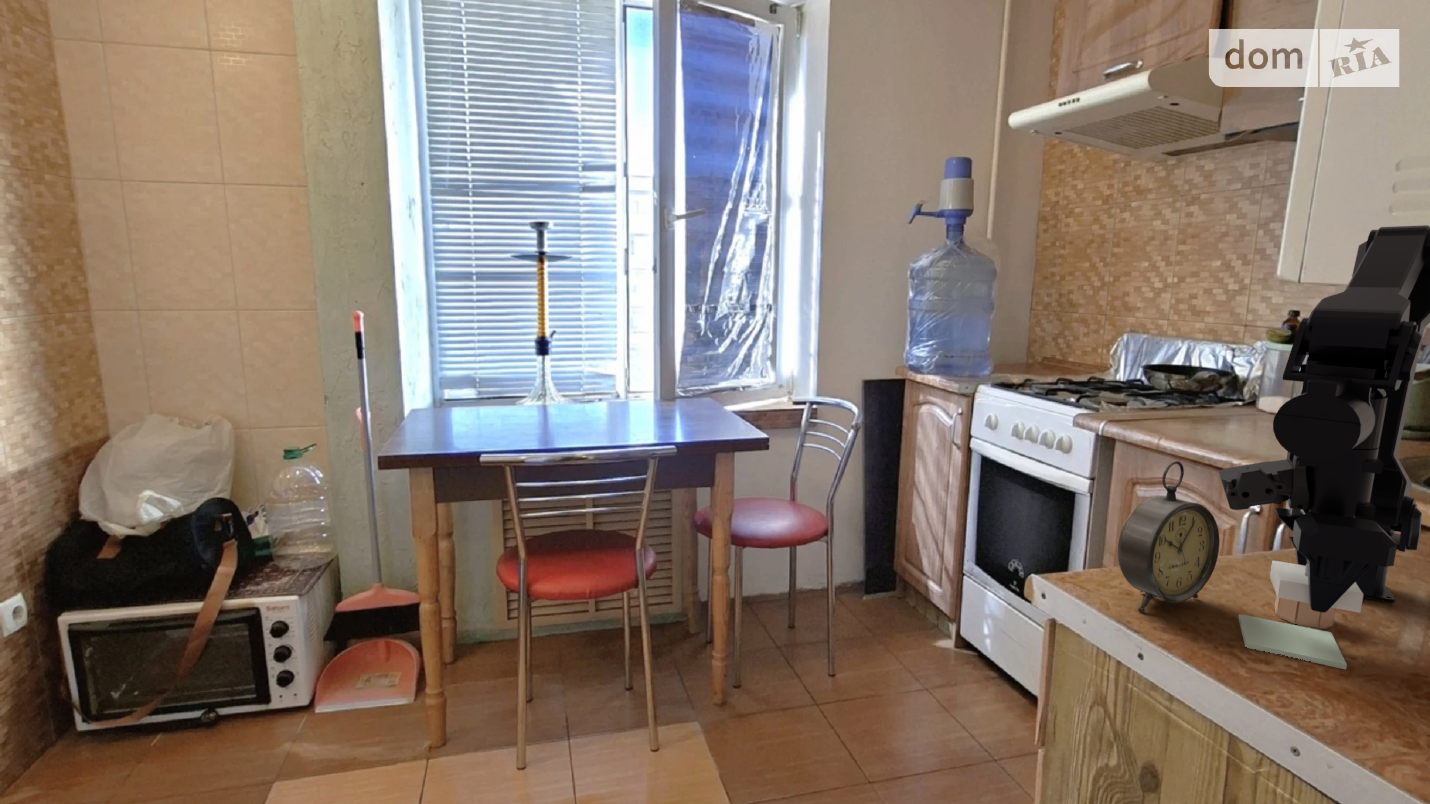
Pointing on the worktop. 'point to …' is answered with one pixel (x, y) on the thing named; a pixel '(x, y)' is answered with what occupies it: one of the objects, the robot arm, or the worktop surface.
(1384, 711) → the worktop surface
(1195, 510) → the alarm clock
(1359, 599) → the cover
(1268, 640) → the mat
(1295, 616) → the bowl
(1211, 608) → the worktop surface
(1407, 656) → the worktop surface
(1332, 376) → the robot arm
